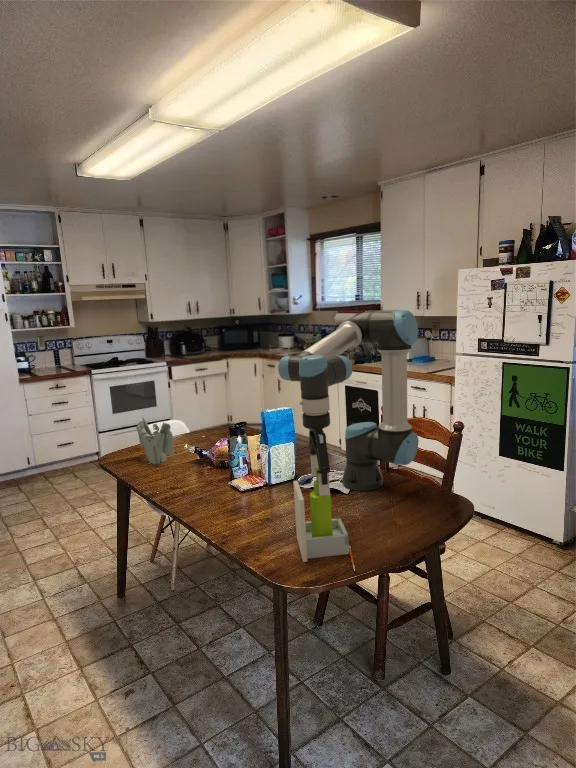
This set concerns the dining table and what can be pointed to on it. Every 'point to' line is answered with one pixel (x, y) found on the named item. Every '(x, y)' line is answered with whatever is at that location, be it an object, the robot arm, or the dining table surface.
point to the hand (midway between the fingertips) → (320, 484)
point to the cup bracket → (318, 545)
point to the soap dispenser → (320, 512)
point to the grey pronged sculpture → (156, 441)
